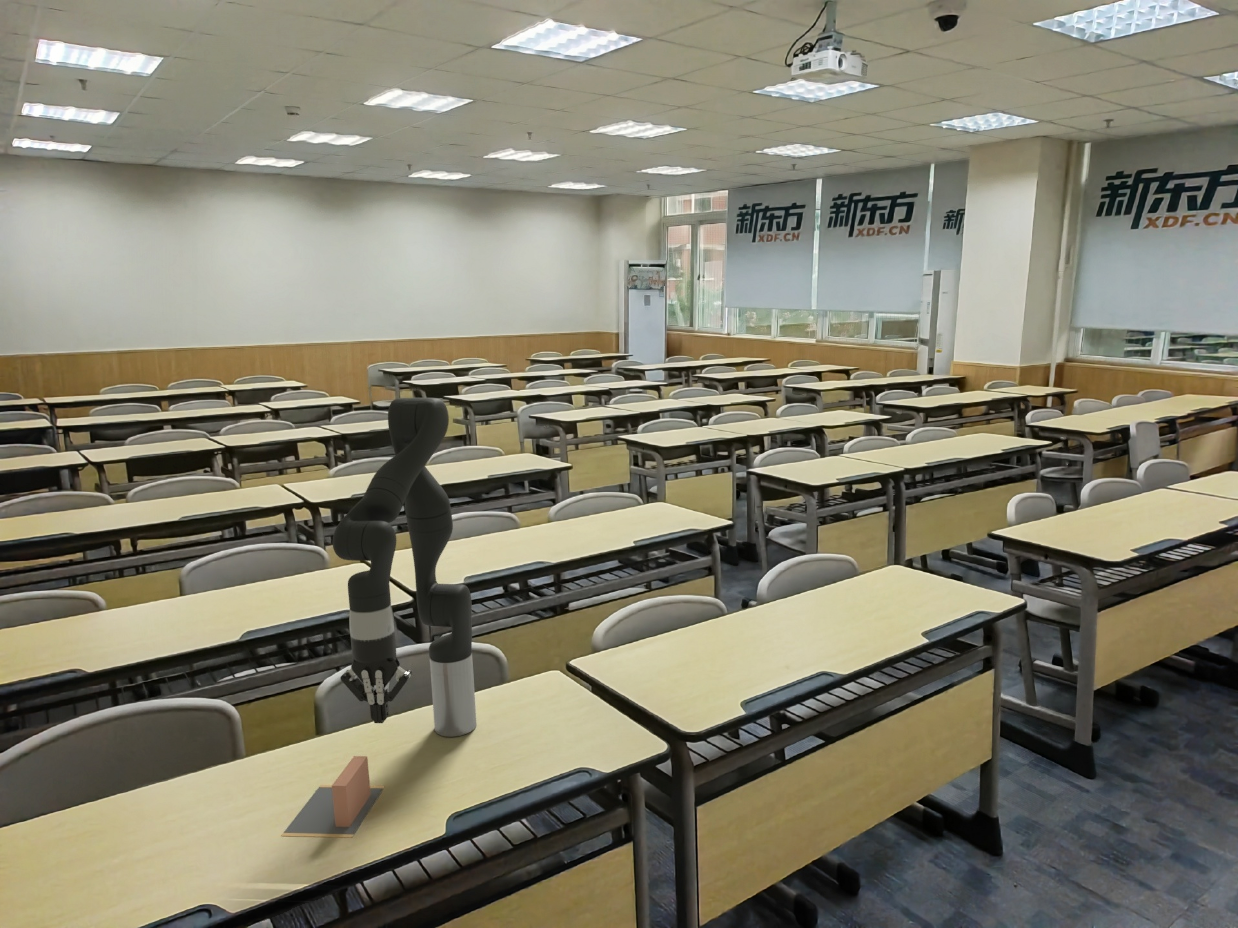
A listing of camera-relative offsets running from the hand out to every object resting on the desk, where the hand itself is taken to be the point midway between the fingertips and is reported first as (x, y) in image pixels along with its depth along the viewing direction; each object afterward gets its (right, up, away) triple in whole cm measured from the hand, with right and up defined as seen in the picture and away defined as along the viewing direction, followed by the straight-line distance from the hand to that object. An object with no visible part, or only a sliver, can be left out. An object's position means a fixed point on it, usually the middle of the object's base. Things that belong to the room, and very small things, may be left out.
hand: (380, 721), depth 147 cm
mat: (-9, -18, +4) cm, 21 cm away
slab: (-6, -18, +4) cm, 19 cm away
